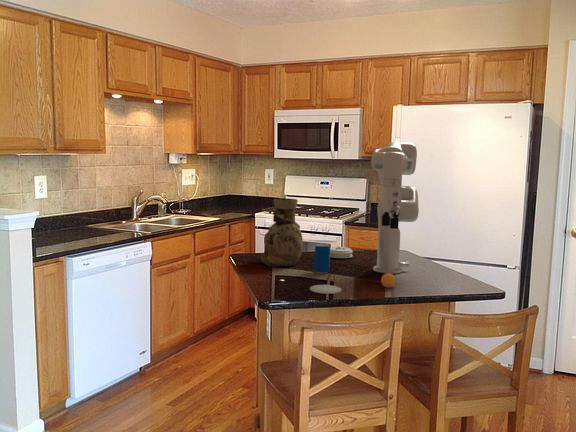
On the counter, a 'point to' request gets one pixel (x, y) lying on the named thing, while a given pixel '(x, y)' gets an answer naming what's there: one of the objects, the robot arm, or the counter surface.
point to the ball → (388, 280)
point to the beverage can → (322, 258)
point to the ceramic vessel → (283, 236)
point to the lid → (340, 252)
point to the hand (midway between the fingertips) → (389, 227)
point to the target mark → (325, 289)
